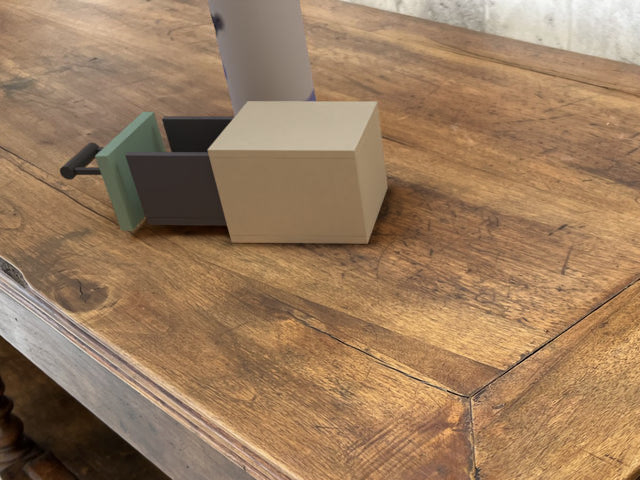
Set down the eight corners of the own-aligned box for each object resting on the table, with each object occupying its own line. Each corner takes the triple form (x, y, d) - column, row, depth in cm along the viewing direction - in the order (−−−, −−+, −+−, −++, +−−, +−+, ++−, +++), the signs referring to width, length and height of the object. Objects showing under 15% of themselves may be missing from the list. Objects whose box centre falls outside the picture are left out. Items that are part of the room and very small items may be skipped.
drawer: (65, 230, 79) (34, 155, 74) (113, 181, 88) (89, 111, 83) (245, 232, 79) (226, 156, 74) (276, 182, 88) (261, 111, 83)
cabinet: (231, 242, 79) (207, 149, 73) (266, 187, 89) (247, 101, 83) (367, 244, 78) (354, 150, 72) (387, 187, 88) (377, 101, 82)
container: (236, 127, 102) (195, -46, 90) (314, 116, 105) (285, -54, 92) (244, 157, 95) (201, -28, 83) (328, 144, 98) (298, -37, 85)
